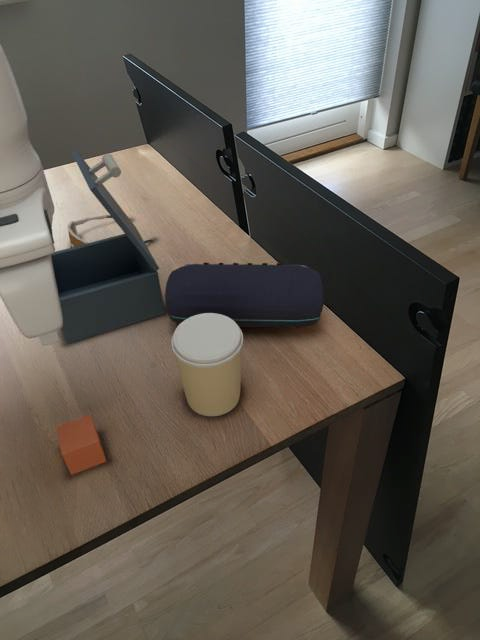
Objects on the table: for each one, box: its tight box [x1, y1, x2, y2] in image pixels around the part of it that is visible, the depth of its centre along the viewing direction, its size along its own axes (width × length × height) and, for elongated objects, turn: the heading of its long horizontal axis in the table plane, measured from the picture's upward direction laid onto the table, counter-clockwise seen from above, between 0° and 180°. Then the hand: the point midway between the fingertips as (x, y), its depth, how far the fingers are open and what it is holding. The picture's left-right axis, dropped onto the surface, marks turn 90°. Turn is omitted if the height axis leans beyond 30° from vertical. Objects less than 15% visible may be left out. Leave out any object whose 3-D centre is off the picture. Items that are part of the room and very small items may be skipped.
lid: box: [70, 148, 160, 272], centre depth 83 cm, size 17×14×5 cm
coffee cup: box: [170, 313, 244, 417], centre depth 73 cm, size 9×9×12 cm
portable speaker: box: [164, 262, 325, 328], centre depth 86 cm, size 25×10×10 cm, turn 86°
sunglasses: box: [66, 214, 154, 248], centre depth 107 cm, size 14×15×5 cm
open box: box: [51, 233, 166, 345], centre depth 91 cm, size 17×14×9 cm
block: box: [55, 414, 107, 475], centre depth 69 cm, size 5×5×5 cm
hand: (43, 313), depth 60 cm, fingers open, 8 cm apart
